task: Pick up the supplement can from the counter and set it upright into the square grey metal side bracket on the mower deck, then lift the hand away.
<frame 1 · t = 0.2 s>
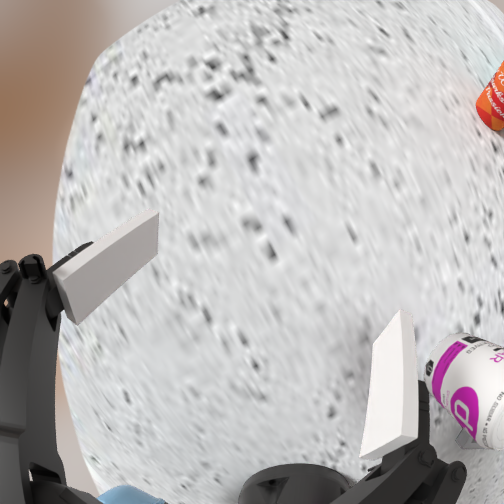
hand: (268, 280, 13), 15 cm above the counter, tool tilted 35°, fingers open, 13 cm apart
supplement can: (449, 363, 24), on the counter
paper cup: (489, 115, 24), on the counter
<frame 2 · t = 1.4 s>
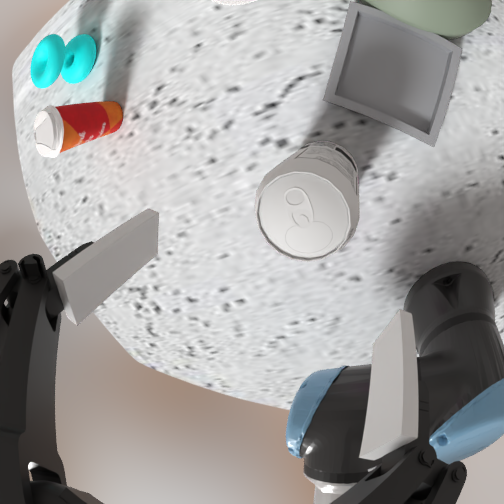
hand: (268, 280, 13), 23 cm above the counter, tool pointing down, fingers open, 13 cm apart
supplement can: (324, 172, 32), on the counter
paper cup: (113, 116, 38), on the counter
donuts: (84, 58, 34), on the counter
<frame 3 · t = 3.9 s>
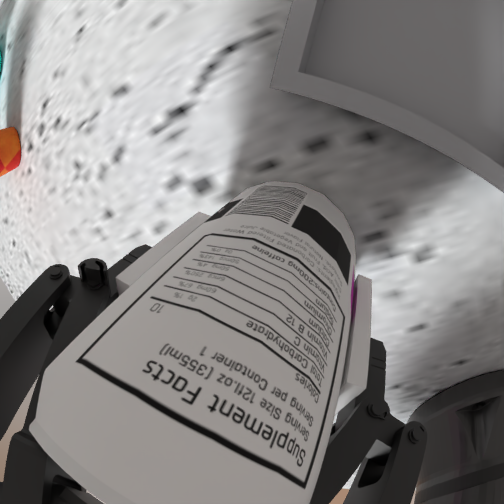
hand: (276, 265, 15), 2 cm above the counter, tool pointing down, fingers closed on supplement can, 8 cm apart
supplement can: (287, 243, 17), on the counter, touching gripper
paper cup: (15, 146, 23), on the counter
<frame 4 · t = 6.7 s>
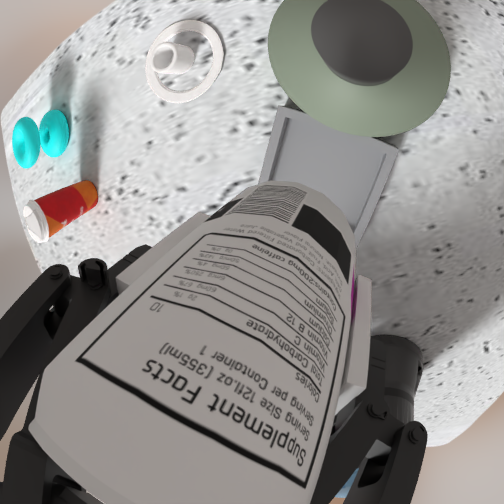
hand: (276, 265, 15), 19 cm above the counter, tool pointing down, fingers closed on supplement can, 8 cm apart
mower deck: (360, 55, 22), on the counter
candle holder: (184, 61, 29), on the counter
supplement can: (288, 243, 17), point 17 cm above the counter, touching gripper
paper cup: (90, 193, 45), on the counter
donuts: (59, 131, 41), on the counter
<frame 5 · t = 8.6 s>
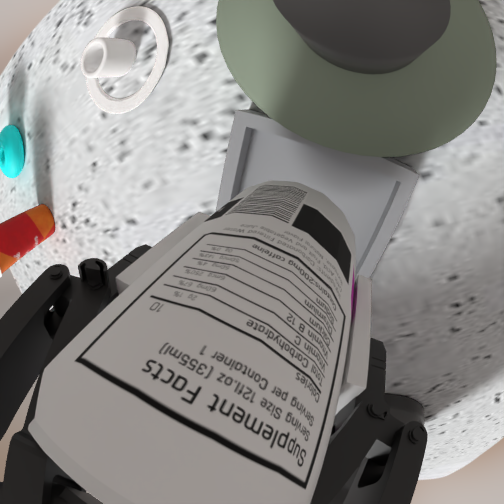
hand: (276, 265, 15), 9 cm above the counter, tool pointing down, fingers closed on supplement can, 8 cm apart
mower deck: (360, 32, 13), on the counter
candle holder: (126, 59, 20), on the counter
supplement can: (288, 243, 17), point 6 cm above the counter, touching gripper
paper cup: (48, 218, 37), on the counter
donuts: (17, 148, 33), on the counter
when the fingers open (4 cm above the counter, at t = 10.0 s): supplement can stays where it is, resting on mower deck.
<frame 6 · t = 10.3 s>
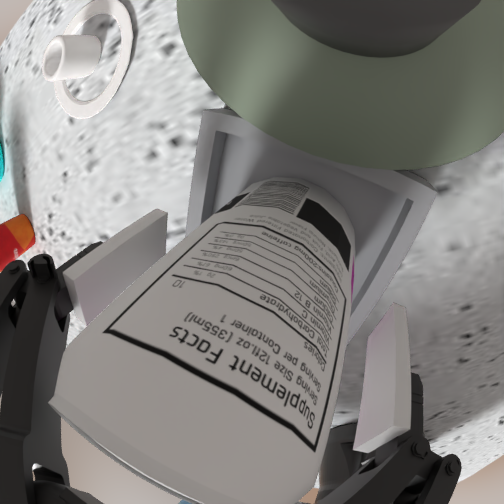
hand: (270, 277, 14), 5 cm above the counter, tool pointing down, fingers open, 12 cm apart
mower deck: (360, 9, 10), on the counter
candle holder: (93, 57, 17), on the counter
supplement can: (290, 236, 17), point 1 cm above the counter, touching mower deck
paper cup: (28, 228, 33), on the counter
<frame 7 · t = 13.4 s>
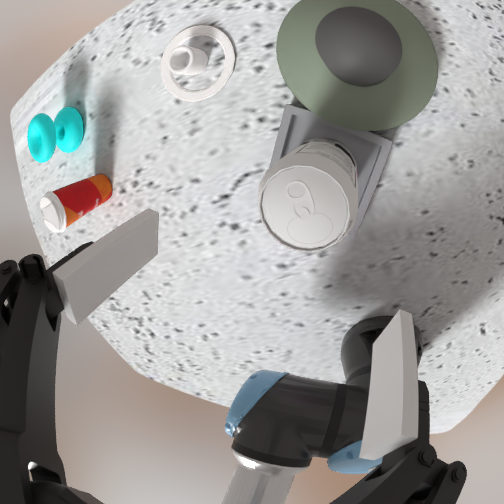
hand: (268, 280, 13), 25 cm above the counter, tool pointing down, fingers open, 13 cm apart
mower deck: (358, 59, 25), on the counter
candle holder: (198, 62, 32), on the counter
supplement can: (324, 168, 33), point 1 cm above the counter, touching mower deck
paper cup: (104, 186, 49), on the counter
donuts: (73, 128, 44), on the counter
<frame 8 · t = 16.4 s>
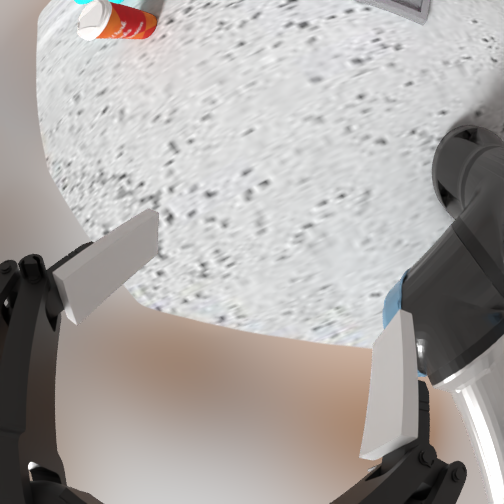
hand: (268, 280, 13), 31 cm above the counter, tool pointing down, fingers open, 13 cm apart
paper cup: (146, 26, 35), on the counter
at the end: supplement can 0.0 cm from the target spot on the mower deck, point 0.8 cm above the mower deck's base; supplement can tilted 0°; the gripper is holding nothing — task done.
